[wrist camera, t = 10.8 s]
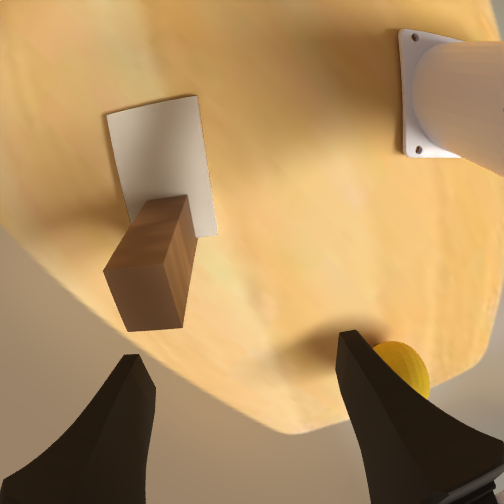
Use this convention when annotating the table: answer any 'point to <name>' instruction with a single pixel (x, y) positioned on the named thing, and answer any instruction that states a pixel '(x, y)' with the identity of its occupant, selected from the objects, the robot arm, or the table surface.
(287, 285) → the table surface
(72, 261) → the table surface
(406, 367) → the lemon
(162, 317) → the brown grey l-shaped block
